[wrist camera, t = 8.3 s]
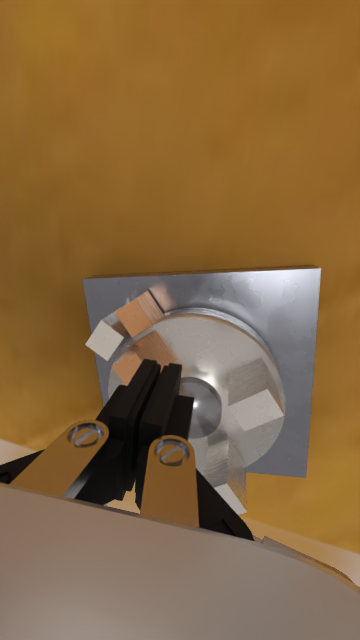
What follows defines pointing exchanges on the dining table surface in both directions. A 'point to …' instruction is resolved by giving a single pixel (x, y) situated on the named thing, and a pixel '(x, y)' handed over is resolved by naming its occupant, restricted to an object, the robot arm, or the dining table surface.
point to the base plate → (244, 304)
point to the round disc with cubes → (210, 385)
